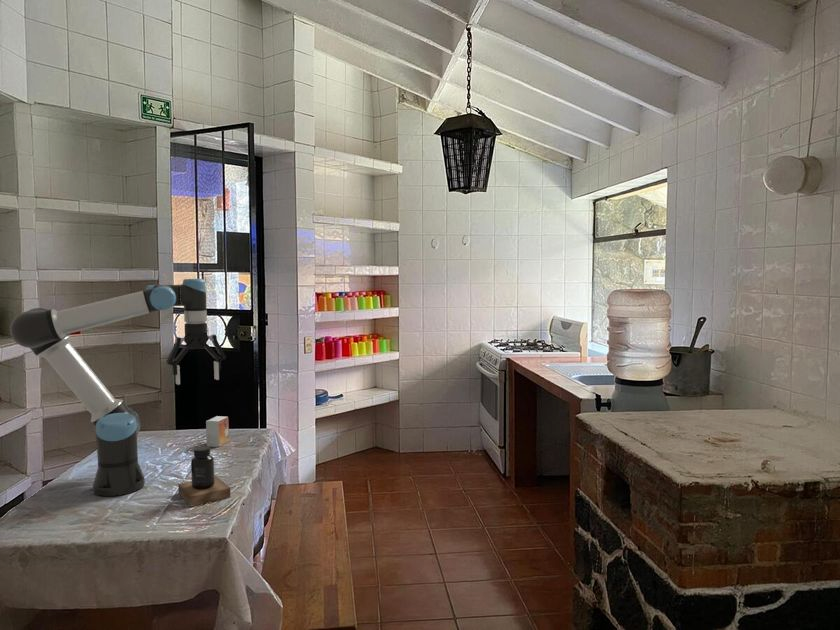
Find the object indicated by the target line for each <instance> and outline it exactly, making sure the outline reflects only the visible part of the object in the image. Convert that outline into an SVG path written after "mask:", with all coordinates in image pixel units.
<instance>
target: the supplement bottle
mask: <svg viewBox="0 0 840 630" xmlns="http://www.w3.org/2000/svg"><path fill="white" fill-rule="evenodd" d="M210 447H211V446H198V447H195V448H194V449H193V457H192V458H191V460H190V472H191V473H190V474H191V481H192V487H193V488H195V489H206V488H209V487H212V486H213V485H214V483H215V478H214V476H215V458H214V456H212V455H211V448H210Z"/></svg>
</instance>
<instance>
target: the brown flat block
mask: <svg viewBox="0 0 840 630" xmlns="http://www.w3.org/2000/svg"><path fill="white" fill-rule="evenodd" d="M214 478H215V483H214V485H213V486H212V487H209V488H206V489H195V488H193V487H192V480H191V481H187V482H182V483H178V484H177V487H178V488H177V489H178V494H179V495H180V497H182V499H183V500H184V501H186V503H187V504H188V505H189V506H190V507H194V506H198V505H202V504H206V503H210V502H215V501H221V500H224V499H228V498H231V487H230V486H229V485H227V484H226V483H225V482H224V481H223V480H222V479H220V478H219V477H218V476H216V475H214ZM227 497H228V498H227Z"/></svg>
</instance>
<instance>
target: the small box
mask: <svg viewBox="0 0 840 630" xmlns="http://www.w3.org/2000/svg"><path fill="white" fill-rule="evenodd" d="M205 424H206V425H205V428H206V431H205V432H206V433H205V434H206V447H212V448H213V447H215V448H220V447H221V446H223V445H225V444H227V443H229V442H230V436H229V435H230V432H229V428H230V427H229V426H230V425H229V416H222V415H221V416H220V415H219V416H218V415H216V416H214V417H212V418H210V419H208V420H206V421H205Z"/></svg>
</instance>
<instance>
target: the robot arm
mask: <svg viewBox="0 0 840 630" xmlns="http://www.w3.org/2000/svg"><path fill="white" fill-rule="evenodd" d="M206 286H207V285H206V281H205V280H204V279H203V278H184V279H183V280H182V284H152V285H151V284H150V285H149V284H148V285H147V286H146V287H145V290H141V291H137V292H132V293H127V294H124V295H119V296H116V297H111V298H107V299H103V300H99V301H94V302H91V303H87V304H83V305H78V306H74V307H70V308H65V309H60V310H56V309H55V308H51V309H48V308H42V307H38V308H37V307H36V308H31V309H29V310H26V311H24V312H20V313H19V314H18V315H16V316H15V317H14V318H13V320H12V321H11V323H10V326H9V332H10V336H11V338H12V340H13V341H14V342H15V343H16V344H18V345H19V346H21V347H24V348H28V349H30V351H32V353H34V354H35V357H39V358H44V359H45V360H46V361H47V362H48V364H49V365H50V366H51V368H53V370H54V371H55V372H56V374H58V376H59V377H60V378H61V379H62V381H63V382H64V383H65V385H67V387H68V388H69V389H70V390H71V391H72V392H73V394H74V395H75V396H76V398H77V399H78V400H79V401H80V403H81V404H82V405H83V406H84V407H85V409H86V410H87V411H88V412H89V413H90V414H91V419H90V422H91V423H92V425H93V426H94V427H95V434H96V453H97V470H96V472H95V477H94V480H93V484H92V493H93V492H94V493H95V494H94V493H93V494H94V495H96V494H98V495H97V496H99V495H103V496H102V497H117V496H116V495H118V496H123V495H122V494H124V495H128V494H131V493H130V492H132V493H134V492H133V491H135V492H136V490H137V491H139V490H141V489H143V487H144V486H145V485H146V483H145V476H144V473H143V471H142V468H141V466H140V464H139V456H138V435H139V433H140V429H141V421H140V417H139V415H138V414H137V412H136V411H134V410H133V409H131V408H129V406H128V405H127V404H126V403H125V401H124V400H123V399H118V398H115V397H114V396H113V394H112V393H111V392H110V391H109V389H108V388H107V387H106V386H105V384H104V383H103V382H102V381H101V379H100V378H99V377H98V376H97V374H96V373H95V372H94V371H93V370H92V368H91V367H90V366H89V365H88V363H87V362H86V361H85V360H84V358H83V357H82V356H81V354H79V352H78V351H77V350H76V348H75V347H74V346H73V345H72V343H71V342H70V341H71V335H70V334H73V333H77V332H81V331H84V330H88V329H92V328H96V327H100V326H105V325H109V324H112V323H115V322H116V323H117V322H119V321H124V320H127V319H131V318H135V317H140V316H144V315H146V314H151V313H155V312H159V311H167V310H169V309H171V308H173V307H183V312H184V314H183V316H184V318H183V319H184V322H185V324H184V337H180V336H175V338H174V339H175V340H174V345H173V346H172V348H171V350H170V354H169V355H168V357H167V360H166V362H165V363H166V364H167V365H169V366H170V365H171V367H172V368H171V370H172V375H173V376H175V384H176V385H177V386H179V385H181V371H180V369H181V367H180V365H179V363H180V362H181V361H182V360H183V358H184V357H185V356H186V354H187V353H188V352H189V351H190V350H196V349H205V350H206V351H207V352H208V353H209V354H210V355H211V357H212V358H213V359H215V360H214V361H213V371H214V372H213V373H214V374H213V376H214V380H216V381H219V380H220V371H222V361H223V360H226V359H227V356H226V354H225V353H224V351H223V348H222V347H221V345H220V343H219V342H218V337H217V335H216V334H214V333H213V334H211V335H208V323H207V322H208V315H207V313H208V312H207V311H208V310H207V289H206V288H207V287H206ZM208 341H210V342H212V344H213V347H214V348H215V349H216V351H217V353H218V354H217V353H216V352H215V351H214V349H212V348H211V346H209V344H208ZM182 343H185V344H184V346H183V348H182V349H181V351H180V352H179V353H178V351H179V348H180V347H181V345H182ZM177 353H178V354H177ZM176 355H177V356H176ZM144 484H145V485H144ZM140 488H141V489H140ZM138 489H139V490H138ZM127 493H128V494H127Z"/></svg>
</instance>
